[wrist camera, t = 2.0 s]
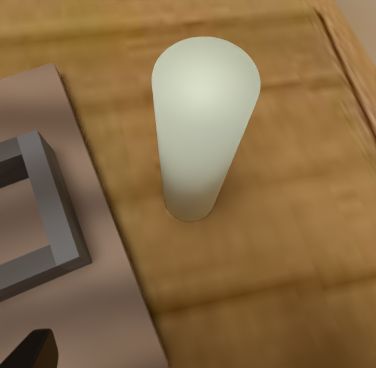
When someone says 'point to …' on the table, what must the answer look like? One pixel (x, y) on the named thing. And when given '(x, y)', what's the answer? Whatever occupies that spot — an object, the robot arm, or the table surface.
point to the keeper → (63, 238)
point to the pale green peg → (200, 119)
